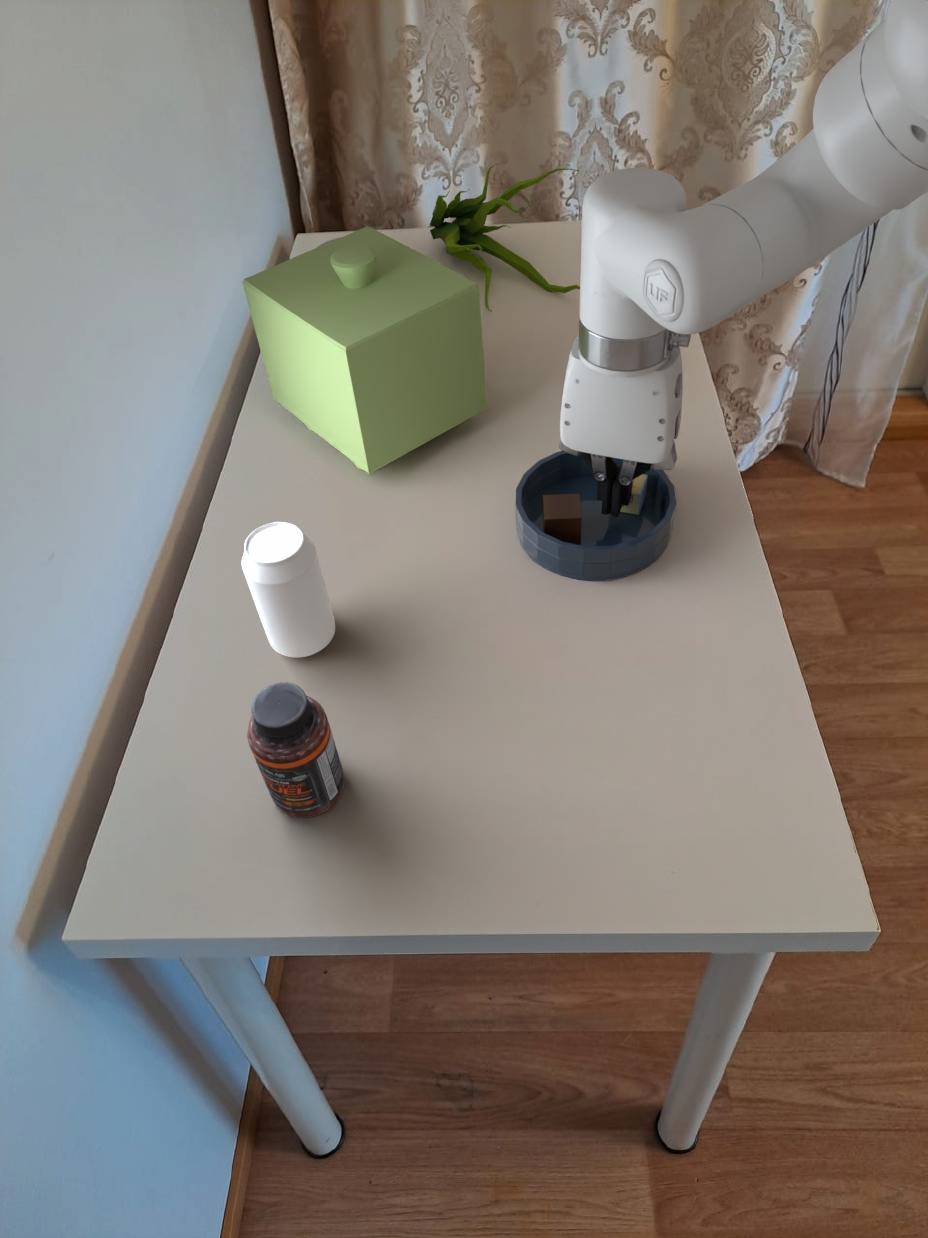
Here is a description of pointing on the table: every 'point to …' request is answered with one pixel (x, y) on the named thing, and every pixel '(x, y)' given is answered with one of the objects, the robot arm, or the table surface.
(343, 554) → the table surface
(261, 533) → the beverage can
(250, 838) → the table surface
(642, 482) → the alphabet block
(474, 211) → the decorative plant
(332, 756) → the supplement bottle
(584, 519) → the bowl
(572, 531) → the walnut cube
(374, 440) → the container
